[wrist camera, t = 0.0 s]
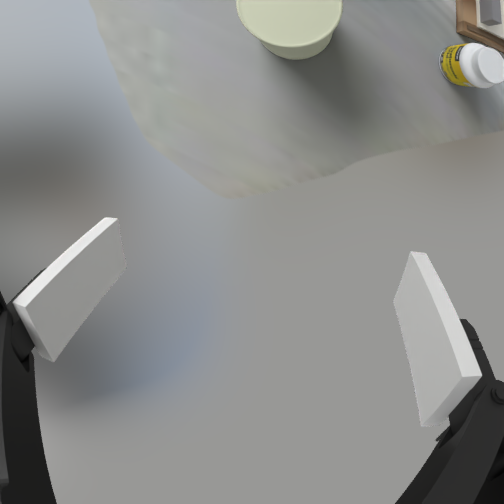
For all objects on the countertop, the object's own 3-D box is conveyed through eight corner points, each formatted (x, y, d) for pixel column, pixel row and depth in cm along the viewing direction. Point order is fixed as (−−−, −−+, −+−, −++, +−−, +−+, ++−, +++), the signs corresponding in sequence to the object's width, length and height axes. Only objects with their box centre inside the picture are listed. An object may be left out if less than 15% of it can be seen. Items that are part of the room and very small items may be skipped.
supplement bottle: (436, 42, 26) (471, 34, 18) (471, 51, 25) (510, 48, 17) (437, 81, 29) (473, 84, 21) (472, 89, 28) (512, 95, 20)
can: (345, 14, 27) (361, -13, 17) (311, 72, 32) (314, 66, 22) (276, -17, 26) (263, -54, 16) (243, 40, 31) (216, 23, 21)
